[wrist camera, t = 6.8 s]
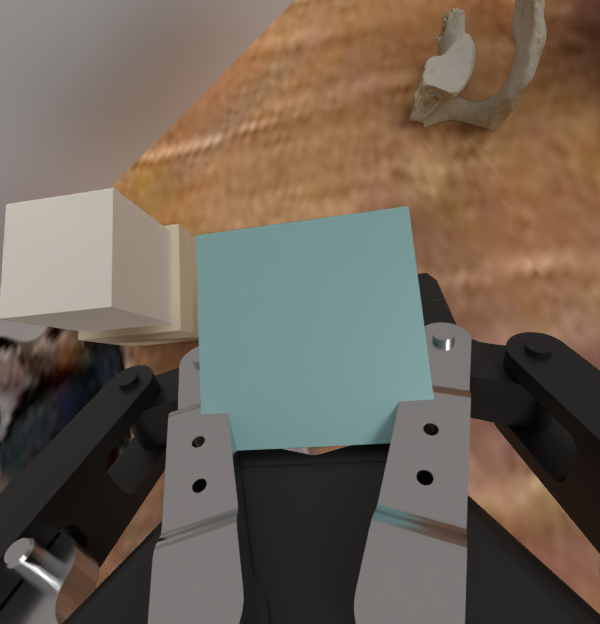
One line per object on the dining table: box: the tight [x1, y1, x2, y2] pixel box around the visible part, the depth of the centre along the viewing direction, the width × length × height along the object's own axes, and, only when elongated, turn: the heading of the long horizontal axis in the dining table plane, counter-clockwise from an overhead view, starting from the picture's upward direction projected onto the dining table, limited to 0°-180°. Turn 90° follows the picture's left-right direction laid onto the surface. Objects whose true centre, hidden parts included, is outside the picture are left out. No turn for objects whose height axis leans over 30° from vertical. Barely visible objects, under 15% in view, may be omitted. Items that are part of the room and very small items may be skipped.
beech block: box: [78, 224, 199, 347], centre depth 27 cm, size 7×7×6 cm
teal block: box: [196, 206, 434, 451], centre depth 12 cm, size 4×4×10 cm
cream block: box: [0, 188, 173, 332], centre depth 21 cm, size 6×6×6 cm
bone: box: [409, 0, 547, 131], centre depth 25 cm, size 9×6×10 cm
